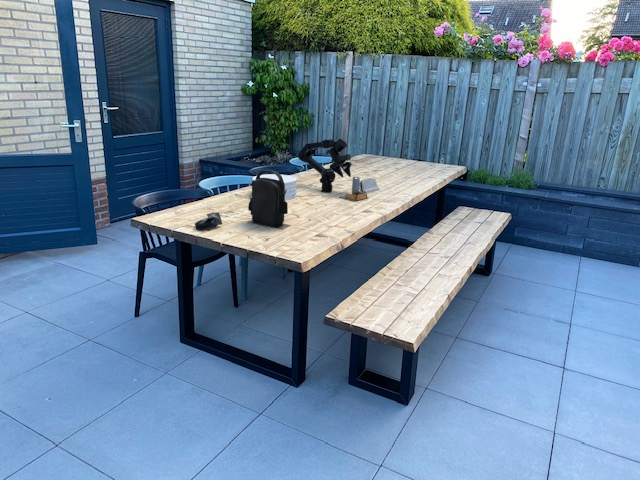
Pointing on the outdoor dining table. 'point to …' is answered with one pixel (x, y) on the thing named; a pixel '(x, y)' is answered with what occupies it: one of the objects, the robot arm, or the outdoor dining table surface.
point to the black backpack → (268, 201)
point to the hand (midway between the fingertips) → (346, 176)
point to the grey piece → (355, 185)
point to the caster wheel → (209, 222)
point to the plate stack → (289, 184)
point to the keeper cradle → (355, 196)
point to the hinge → (368, 185)
